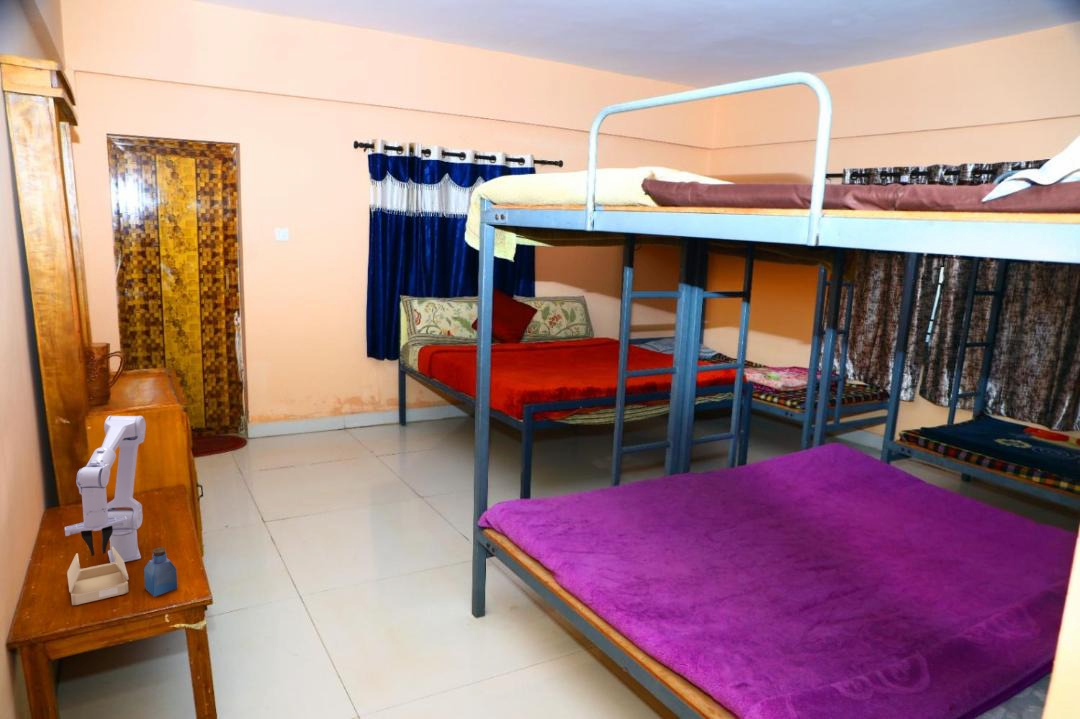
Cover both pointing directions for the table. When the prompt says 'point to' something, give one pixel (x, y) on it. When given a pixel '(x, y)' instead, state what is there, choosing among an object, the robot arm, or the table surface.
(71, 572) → the flap
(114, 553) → the flap
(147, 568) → the perfume bottle
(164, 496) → the table surface
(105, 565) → the carton
